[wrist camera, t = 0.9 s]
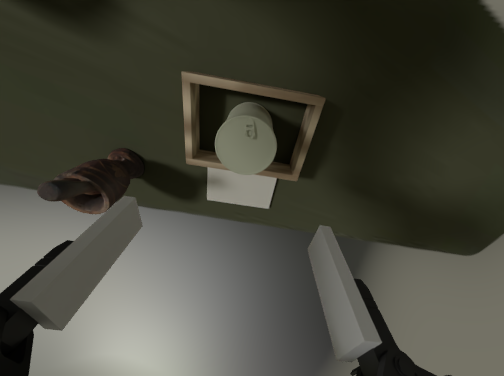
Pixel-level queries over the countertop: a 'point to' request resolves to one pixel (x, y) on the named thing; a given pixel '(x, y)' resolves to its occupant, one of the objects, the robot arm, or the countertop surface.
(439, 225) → the countertop surface
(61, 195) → the mortar and pestle
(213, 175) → the mat
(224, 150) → the can
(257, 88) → the wooden frame
